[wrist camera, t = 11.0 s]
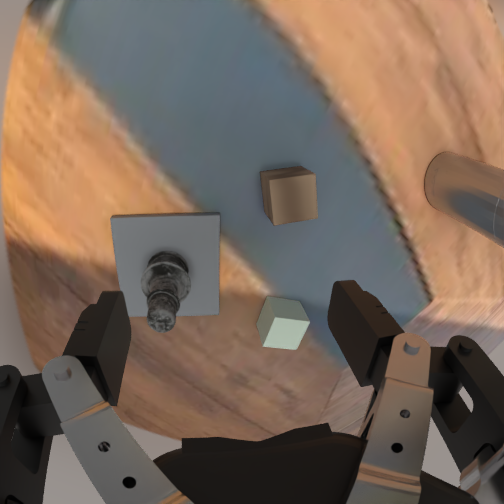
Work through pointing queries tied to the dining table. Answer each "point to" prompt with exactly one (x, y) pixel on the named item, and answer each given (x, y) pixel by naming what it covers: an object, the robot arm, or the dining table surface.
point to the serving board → (176, 240)
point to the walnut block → (289, 194)
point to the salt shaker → (165, 288)
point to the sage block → (282, 323)
